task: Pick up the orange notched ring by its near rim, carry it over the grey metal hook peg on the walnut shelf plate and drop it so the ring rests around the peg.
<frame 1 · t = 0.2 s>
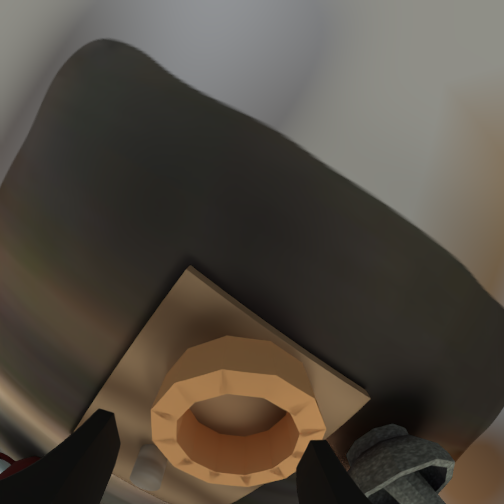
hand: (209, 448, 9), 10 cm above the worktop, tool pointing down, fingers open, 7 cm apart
mug: (37, 460, 22), on the worktop
shelf plate: (196, 431, 20), on the worktop
orange notched ring: (238, 401, 19), point 1 cm above the worktop, touching shelf plate
mortar and pestle: (381, 447, 22), on the worktop
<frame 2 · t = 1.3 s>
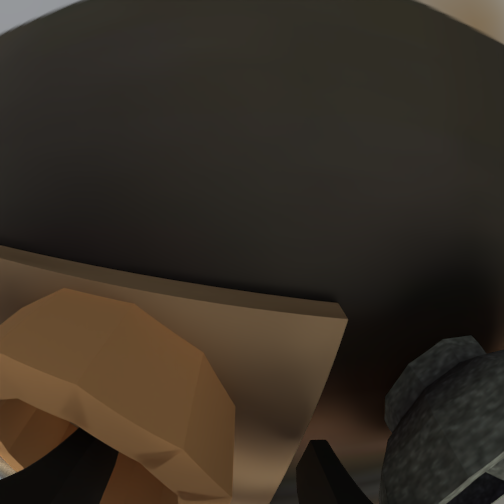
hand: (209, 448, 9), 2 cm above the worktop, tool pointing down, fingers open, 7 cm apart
shelf plate: (130, 453, 13), on the worktop
orange notched ring: (109, 403, 10), point 1 cm above the worktop, touching shelf plate
mortar and pestle: (445, 382, 12), on the worktop
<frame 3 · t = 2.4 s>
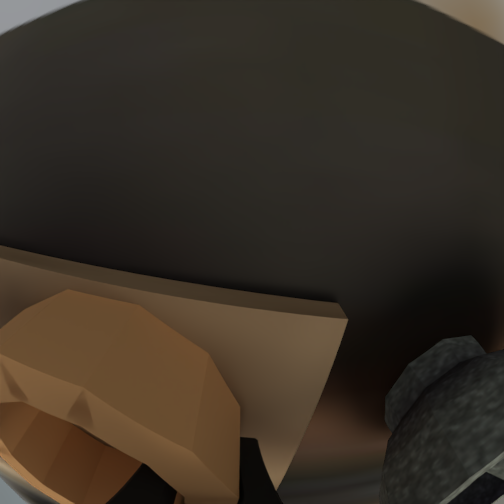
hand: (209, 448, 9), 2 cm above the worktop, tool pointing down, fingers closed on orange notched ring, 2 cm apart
shelf plate: (130, 453, 13), on the worktop
orange notched ring: (113, 405, 10), point 1 cm above the worktop, touching gripper, shelf plate
mortar and pestle: (445, 382, 12), on the worktop
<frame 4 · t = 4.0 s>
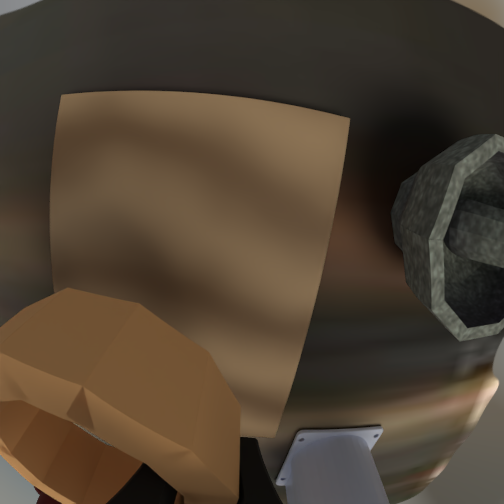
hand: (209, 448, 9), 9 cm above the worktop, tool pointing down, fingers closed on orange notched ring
shelf plate: (174, 290, 17), on the worktop
orange notched ring: (113, 404, 10), point 8 cm above the worktop, touching gripper
mortar and pestle: (437, 217, 17), on the worktop
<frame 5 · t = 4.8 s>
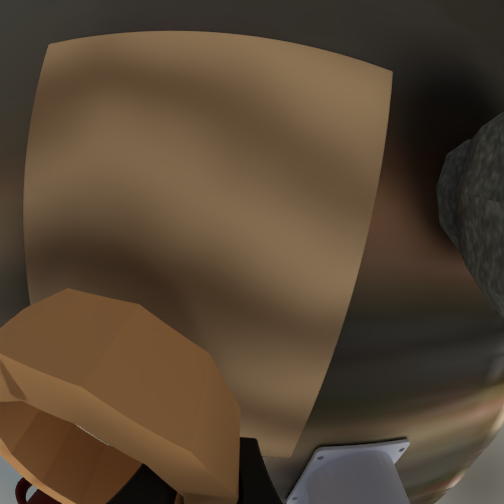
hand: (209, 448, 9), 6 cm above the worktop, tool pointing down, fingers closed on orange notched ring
mug: (77, 470, 19), on the worktop
shelf plate: (172, 279, 14), on the worktop
orange notched ring: (113, 404, 10), point 5 cm above the worktop, touching gripper
mortar and pestle: (481, 197, 13), on the worktop
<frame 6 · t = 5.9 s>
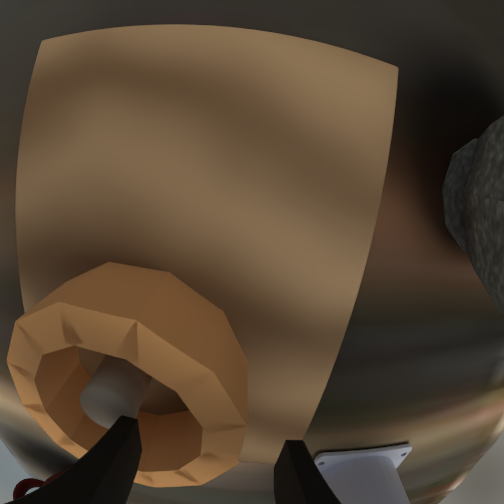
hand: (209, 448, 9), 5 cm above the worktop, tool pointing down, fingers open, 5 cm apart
mug: (75, 474, 19), on the worktop
shelf plate: (168, 283, 13), on the worktop
orange notched ring: (139, 364, 13), point 1 cm above the worktop, touching shelf plate
mortar and pestle: (487, 198, 12), on the worktop
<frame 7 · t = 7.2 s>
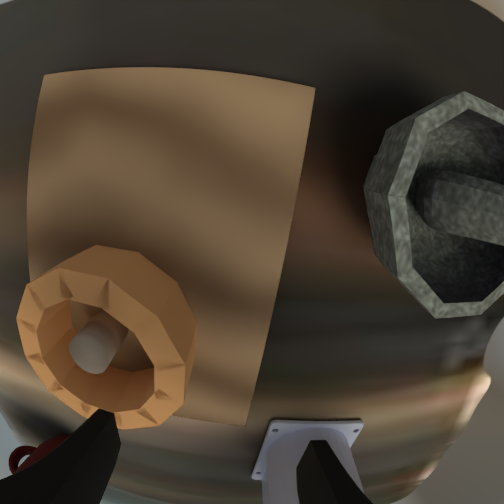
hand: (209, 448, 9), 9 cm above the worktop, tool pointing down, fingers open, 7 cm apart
mug: (66, 442, 23), on the worktop
shelf plate: (140, 262, 17), on the worktop
orange notched ring: (117, 326, 17), point 1 cm above the worktop, touching shelf plate
mortar and pestle: (415, 193, 16), on the worktop
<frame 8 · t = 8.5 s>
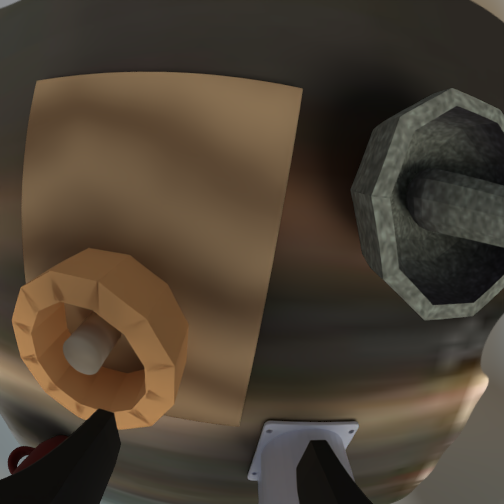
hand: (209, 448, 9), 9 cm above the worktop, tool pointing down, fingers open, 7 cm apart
mug: (64, 442, 23), on the worktop
shelf plate: (132, 264, 17), on the worktop
orange notched ring: (110, 327, 17), point 1 cm above the worktop, touching shelf plate
mortar and pestle: (407, 193, 16), on the worktop
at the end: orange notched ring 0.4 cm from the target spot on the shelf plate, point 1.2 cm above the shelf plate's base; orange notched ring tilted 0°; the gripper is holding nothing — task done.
